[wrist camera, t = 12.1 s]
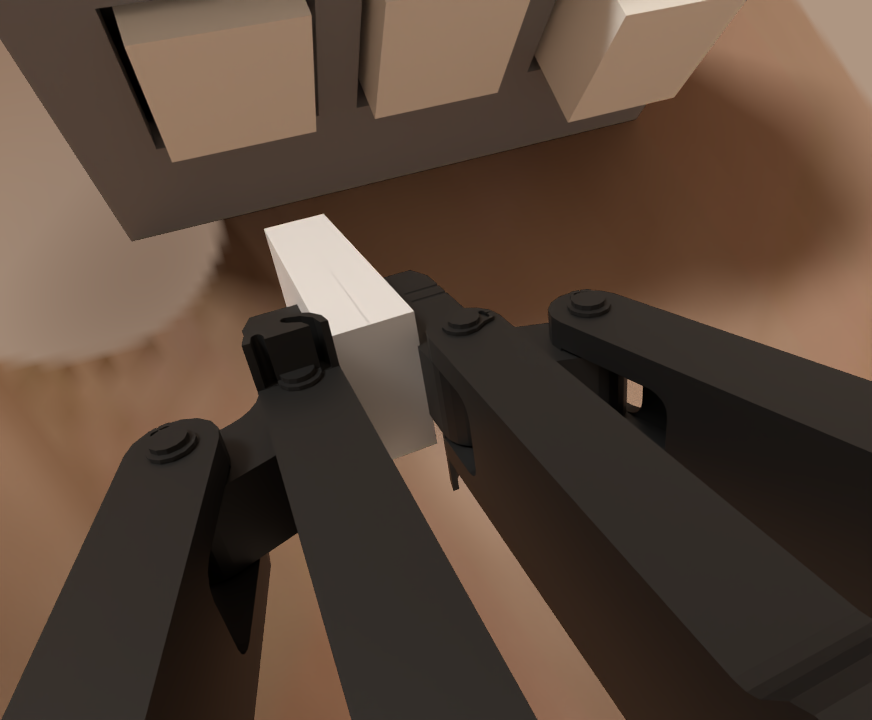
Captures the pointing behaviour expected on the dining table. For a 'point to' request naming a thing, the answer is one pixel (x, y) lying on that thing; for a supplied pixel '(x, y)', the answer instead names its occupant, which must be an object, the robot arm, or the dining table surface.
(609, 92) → the key
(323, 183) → the keypad
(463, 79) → the key middle
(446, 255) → the dining table surface
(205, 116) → the key
